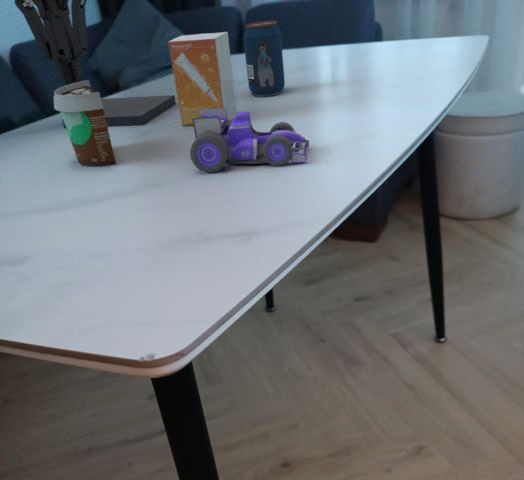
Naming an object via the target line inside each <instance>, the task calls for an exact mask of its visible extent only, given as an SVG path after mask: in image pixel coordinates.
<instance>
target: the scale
mask: <svg viewBox="0 0 524 480" xmlns="http://www.w3.org/2000/svg"><path fill="white" fill-rule="evenodd" d="M101 101H102V105H103V110H104V115H105V119H106V123H107V127H108V128H110V127H111V128H112V127H137V126H138V127H139V126H145V125H146V124H148V123H150V122H151V121H153V120H154V119H155V118H157V117H158V116H160V115H162V114H163V113H164V112H166V111H168V110H169V109H171V108H172V107H174V106H175V105H177V102H176V97H175V94H169V95H168V94H166V95H151V96H150V95H148V96H147V95H146V96H131V97H128V96H127V97H112V98H111V97H109V98H101ZM61 121H62V124H63V125H62V126H63V128H64V129H66V126H65V123H64V121H63V118H61Z"/></svg>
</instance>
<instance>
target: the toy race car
mask: <svg viewBox="0 0 524 480" xmlns="http://www.w3.org/2000/svg"><path fill="white" fill-rule="evenodd" d="M192 119H193V125H192V126H193V131H194V137H195V139H194V141H193V142H192V143H191V146H190V149H189V155H190V159H191V162H192V163H193V165H194V166H195V168H197V169H198V170H200V171H201V172H204V173H208V174H213V173H217V172H218V171H220V170H222V169H223V167H225V165H226V163H227V164H231V165H232V164H234V165H256V164H257V165H260V164H269V165H271V166H274V167H281V166H284V165H287V163H288V162H289V161H290V159H291V163H292V164H297V163H298V164H299V163H301V164H302V163H307V161H308V160H307V157H308V155H307V154H306V149H309V148H310V139H306V138H305V137H304V136H303V135H301V134H299V133H298V132H296V130H295V129H294V127H293V126H292V125H291V124H290V123H288V122H284V121H280V122H279V121H278V122H276V123H274V124H273V125H272V127H270V130H269V132H268V131H266V132H265V131H264V132H263V131H257V130H256V129H254V128H253V125H252V120H251V114H250V111H248V110H247V111H239V112H237V114H236V115H235V117H234V118H233V119H232V120H231V121H230V120H228V118H227V111H226V110H225V109H224V108H210V109H200V118H192ZM293 146H294V149H298V152H295V151H293Z"/></svg>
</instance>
